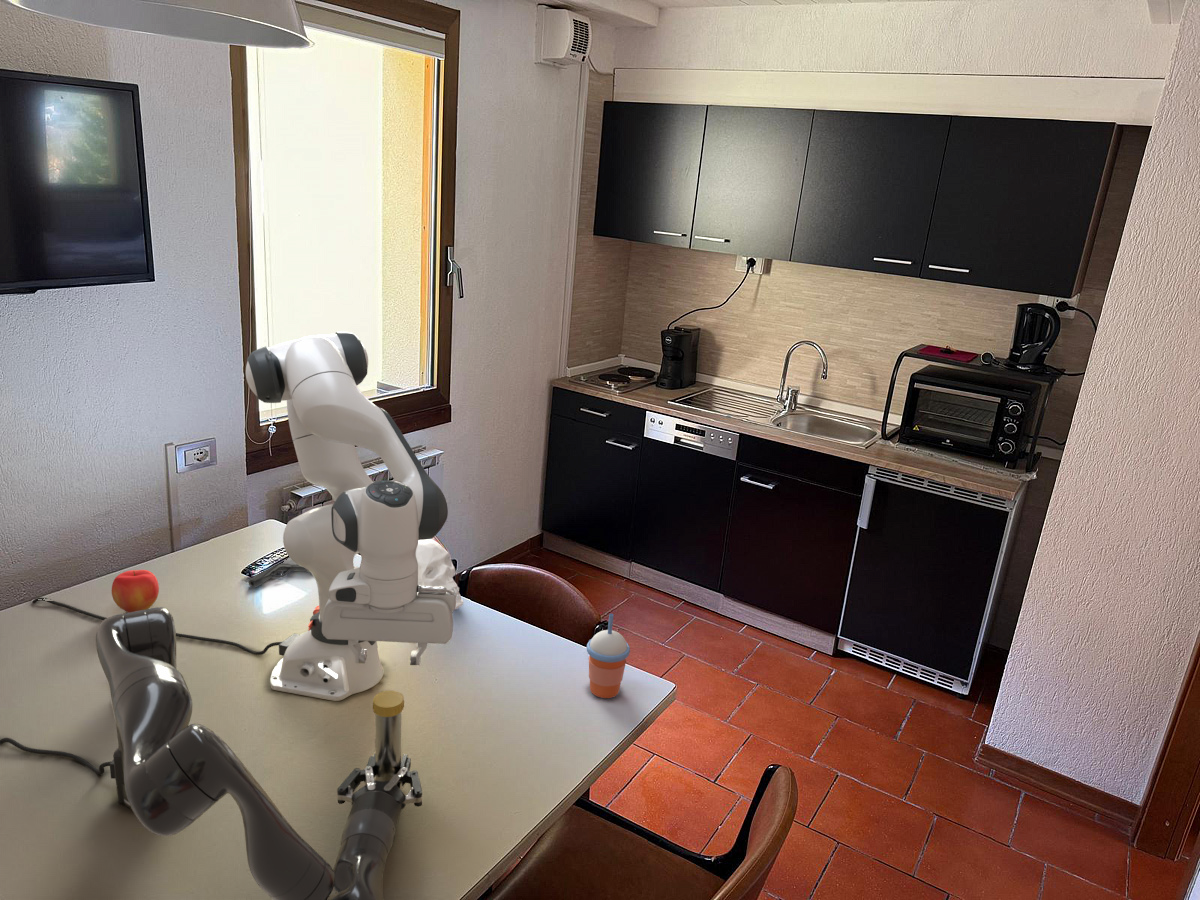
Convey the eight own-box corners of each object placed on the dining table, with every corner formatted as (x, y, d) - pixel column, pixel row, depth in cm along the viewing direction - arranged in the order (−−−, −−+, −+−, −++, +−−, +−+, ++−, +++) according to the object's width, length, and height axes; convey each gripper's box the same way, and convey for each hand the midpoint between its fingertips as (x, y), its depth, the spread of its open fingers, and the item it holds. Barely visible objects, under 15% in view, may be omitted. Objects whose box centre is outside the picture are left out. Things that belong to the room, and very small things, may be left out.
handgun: (292, 594, 211) (247, 586, 213) (325, 565, 228) (283, 558, 229) (291, 586, 211) (246, 578, 212) (325, 557, 227) (283, 550, 229)
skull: (448, 622, 203) (451, 561, 199) (372, 599, 211) (374, 540, 207) (477, 602, 215) (480, 543, 211) (405, 581, 223) (406, 524, 219)
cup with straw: (621, 706, 176) (629, 628, 171) (578, 698, 178) (585, 621, 173) (629, 682, 185) (636, 608, 180) (588, 675, 186) (594, 601, 181)
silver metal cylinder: (372, 808, 143) (372, 708, 137) (378, 791, 147) (378, 693, 141) (398, 809, 143) (399, 709, 138) (402, 792, 147) (403, 694, 142)
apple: (163, 615, 196) (160, 576, 193) (116, 624, 191) (112, 584, 188) (157, 598, 204) (154, 559, 201) (111, 606, 199) (107, 567, 196)
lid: (369, 716, 137) (369, 707, 137) (376, 698, 142) (376, 689, 142) (401, 718, 138) (401, 708, 137) (406, 700, 142) (406, 690, 142)
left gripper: (417, 811, 129) (433, 740, 145) (321, 808, 128) (348, 737, 144) (417, 852, 131) (432, 777, 148) (322, 849, 130) (349, 774, 147)
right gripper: (458, 578, 137) (455, 654, 141) (328, 572, 135) (329, 649, 140) (453, 597, 131) (451, 675, 135) (317, 590, 129) (319, 670, 134)
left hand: (391, 758), depth 146 cm, fingers closed on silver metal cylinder, 4 cm apart
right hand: (388, 662), depth 137 cm, fingers open, 7 cm apart
